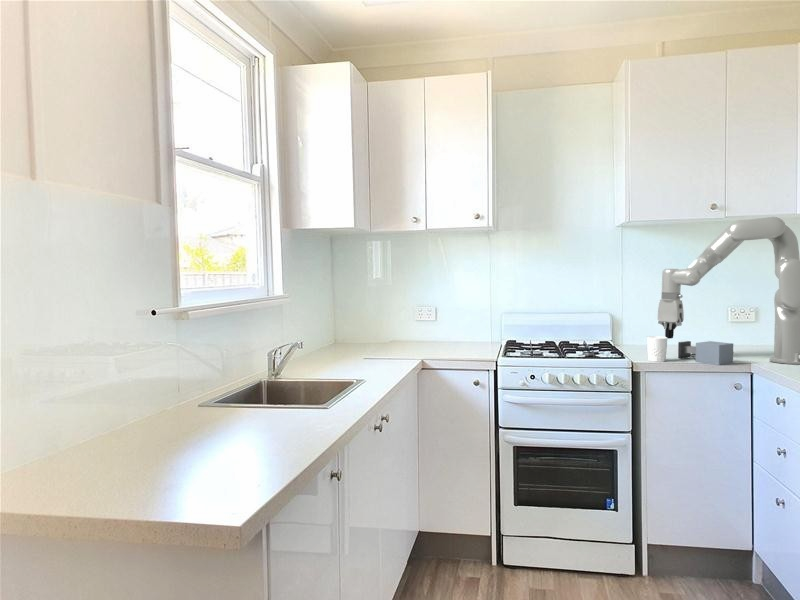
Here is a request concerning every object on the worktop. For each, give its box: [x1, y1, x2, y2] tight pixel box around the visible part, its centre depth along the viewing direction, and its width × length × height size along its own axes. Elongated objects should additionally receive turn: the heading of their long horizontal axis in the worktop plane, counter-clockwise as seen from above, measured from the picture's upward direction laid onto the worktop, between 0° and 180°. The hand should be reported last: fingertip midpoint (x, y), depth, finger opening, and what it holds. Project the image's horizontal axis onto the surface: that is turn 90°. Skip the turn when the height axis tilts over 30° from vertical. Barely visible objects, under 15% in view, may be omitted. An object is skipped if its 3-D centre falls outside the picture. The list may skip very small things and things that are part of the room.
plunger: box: [677, 340, 696, 360], centre depth 251 cm, size 10×11×7 cm
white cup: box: [646, 335, 668, 363], centre depth 248 cm, size 8×8×10 cm
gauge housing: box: [693, 340, 734, 366], centre depth 248 cm, size 21×14×8 cm, turn 31°
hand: (669, 338), depth 260 cm, fingers closed
